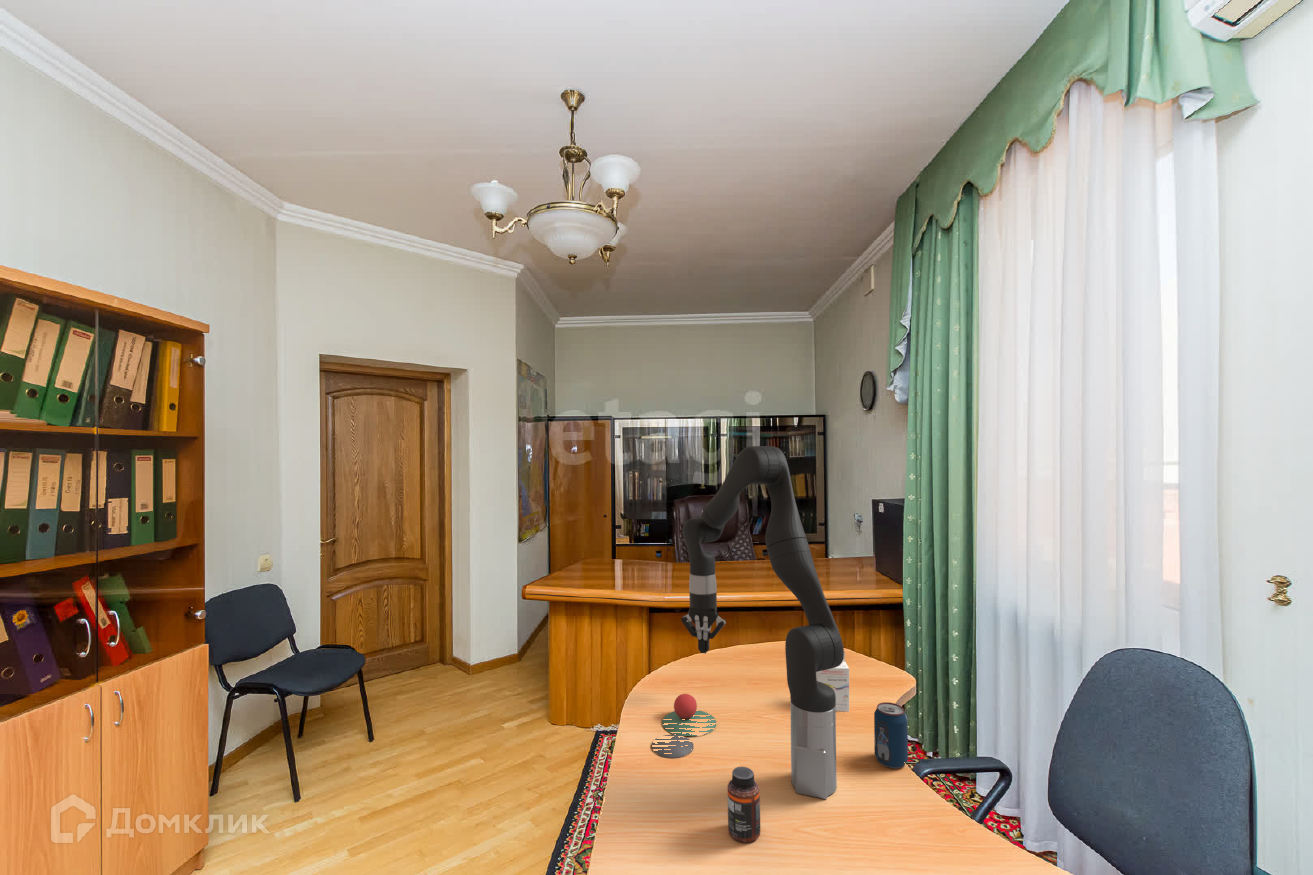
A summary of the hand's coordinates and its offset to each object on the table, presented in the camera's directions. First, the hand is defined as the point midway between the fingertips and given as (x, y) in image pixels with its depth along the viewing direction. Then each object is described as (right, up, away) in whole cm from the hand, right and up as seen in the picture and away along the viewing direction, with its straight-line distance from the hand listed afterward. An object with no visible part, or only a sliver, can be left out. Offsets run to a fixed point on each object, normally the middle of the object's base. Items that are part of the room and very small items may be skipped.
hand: (704, 652), depth 160 cm
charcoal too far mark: (-9, -14, -23) cm, 28 cm away
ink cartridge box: (+34, -14, -4) cm, 37 cm away
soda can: (+40, -14, -30) cm, 52 cm away
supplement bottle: (+3, -14, -53) cm, 55 cm away
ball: (-6, -11, -9) cm, 15 cm away
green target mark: (-5, -14, -12) cm, 19 cm away
